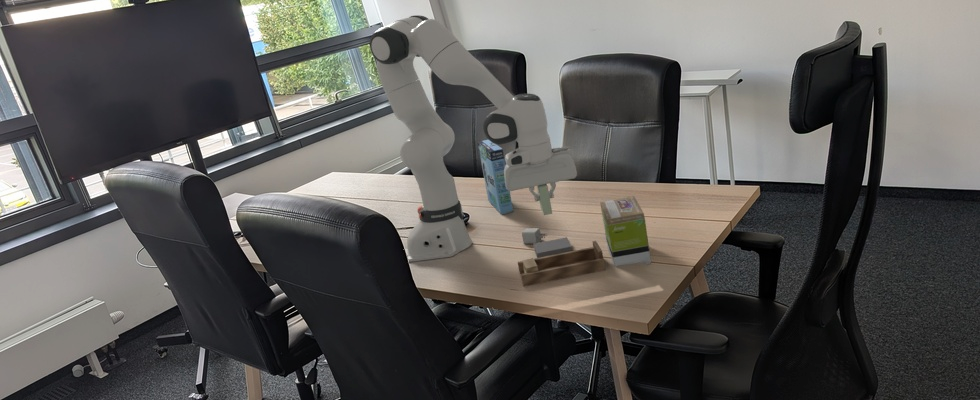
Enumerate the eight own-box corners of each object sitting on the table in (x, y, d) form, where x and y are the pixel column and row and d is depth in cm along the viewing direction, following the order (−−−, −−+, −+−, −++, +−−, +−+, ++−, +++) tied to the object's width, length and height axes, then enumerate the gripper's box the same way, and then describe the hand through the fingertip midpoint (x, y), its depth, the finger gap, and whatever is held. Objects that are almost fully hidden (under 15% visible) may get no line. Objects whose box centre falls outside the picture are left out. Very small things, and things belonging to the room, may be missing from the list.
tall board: (544, 215, 208) (539, 188, 206) (540, 208, 214) (536, 182, 212) (552, 213, 208) (547, 186, 206) (549, 206, 214) (544, 180, 212)
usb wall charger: (528, 239, 231) (526, 227, 230) (549, 239, 228) (547, 227, 226) (523, 244, 227) (521, 232, 226) (544, 244, 224) (542, 232, 223)
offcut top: (527, 275, 197) (526, 268, 196) (523, 267, 202) (522, 260, 202) (538, 272, 197) (537, 265, 196) (534, 264, 203) (533, 258, 202)
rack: (523, 289, 196) (520, 268, 194) (520, 275, 205) (516, 255, 204) (606, 273, 196) (602, 252, 194) (598, 259, 205) (595, 239, 204)
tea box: (606, 250, 211) (599, 200, 207) (642, 244, 210) (635, 194, 206) (614, 270, 197) (606, 218, 193) (652, 264, 196) (645, 211, 192)
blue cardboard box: (488, 201, 277) (476, 141, 271) (501, 197, 278) (490, 138, 271) (500, 215, 259) (488, 151, 252) (514, 211, 260) (503, 148, 253)
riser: (538, 263, 211) (536, 253, 210) (535, 253, 219) (533, 243, 218) (573, 256, 211) (571, 246, 210) (568, 246, 219) (566, 237, 218)
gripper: (571, 142, 209) (578, 188, 213) (499, 156, 209) (508, 203, 213) (574, 147, 203) (582, 194, 207) (501, 161, 203) (510, 209, 207)
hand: (544, 199), depth 210 cm, fingers closed on tall board, 2 cm apart
